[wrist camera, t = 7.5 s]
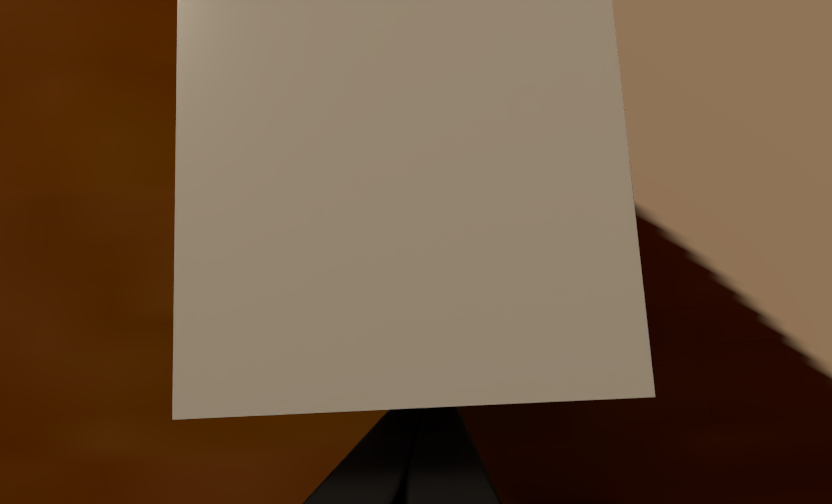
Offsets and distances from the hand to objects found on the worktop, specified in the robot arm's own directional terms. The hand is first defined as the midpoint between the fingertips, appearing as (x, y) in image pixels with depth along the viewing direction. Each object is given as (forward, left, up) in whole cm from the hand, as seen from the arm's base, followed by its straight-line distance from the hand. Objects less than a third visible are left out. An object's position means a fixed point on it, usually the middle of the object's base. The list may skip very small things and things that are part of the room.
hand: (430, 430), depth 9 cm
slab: (+3, -2, -5) cm, 6 cm away
